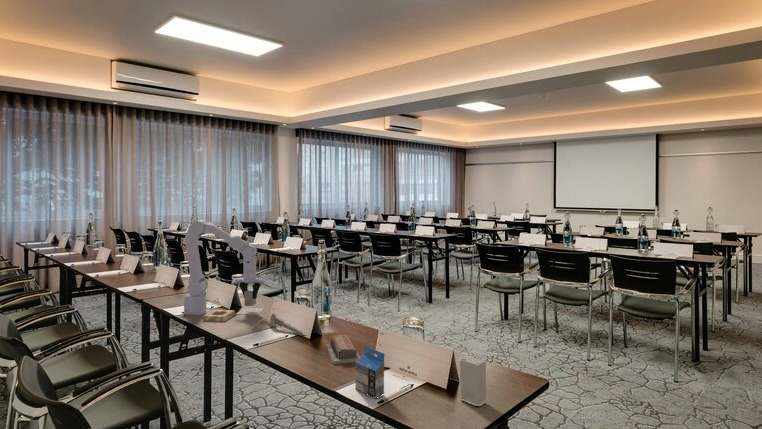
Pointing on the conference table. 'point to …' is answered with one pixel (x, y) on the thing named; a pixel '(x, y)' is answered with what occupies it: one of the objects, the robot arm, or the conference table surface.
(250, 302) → the key peg
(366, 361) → the label tape cartridge
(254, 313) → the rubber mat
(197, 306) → the robot arm
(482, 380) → the skincare box
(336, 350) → the packaged product
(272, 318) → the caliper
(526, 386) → the conference table surface
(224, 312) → the holder block
